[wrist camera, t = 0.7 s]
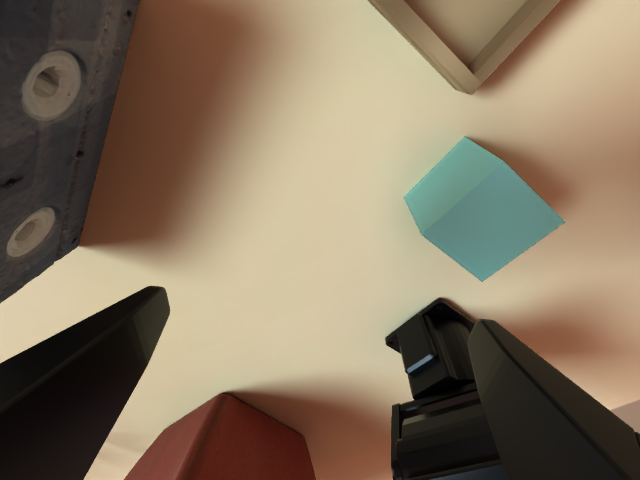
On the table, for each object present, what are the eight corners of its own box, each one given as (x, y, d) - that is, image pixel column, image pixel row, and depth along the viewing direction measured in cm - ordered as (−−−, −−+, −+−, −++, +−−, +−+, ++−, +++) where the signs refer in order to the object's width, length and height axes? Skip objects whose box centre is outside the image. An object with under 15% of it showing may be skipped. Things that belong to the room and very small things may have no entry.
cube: (515, 185, 20) (565, 221, 15) (453, 237, 22) (482, 281, 18) (464, 136, 18) (503, 161, 14) (403, 196, 20) (421, 234, 16)
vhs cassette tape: (93, -43, 15) (-238, -176, 6) (152, 0, 16) (-69, -65, 7) (38, 228, 23) (-136, 330, 15) (79, 247, 24) (-64, 355, 15)
